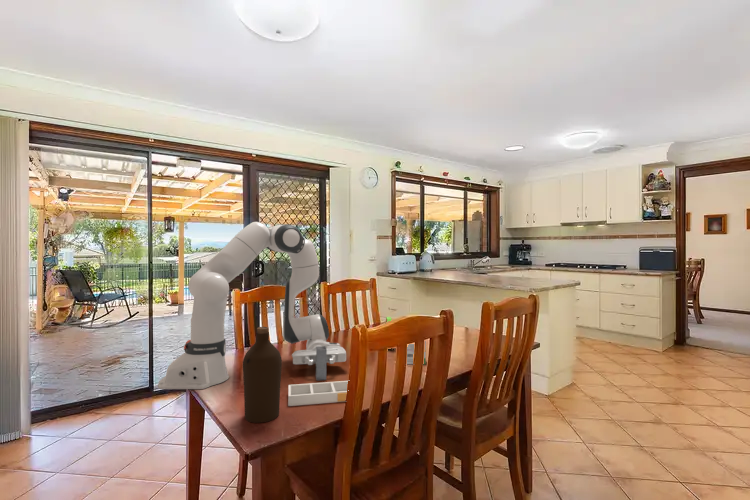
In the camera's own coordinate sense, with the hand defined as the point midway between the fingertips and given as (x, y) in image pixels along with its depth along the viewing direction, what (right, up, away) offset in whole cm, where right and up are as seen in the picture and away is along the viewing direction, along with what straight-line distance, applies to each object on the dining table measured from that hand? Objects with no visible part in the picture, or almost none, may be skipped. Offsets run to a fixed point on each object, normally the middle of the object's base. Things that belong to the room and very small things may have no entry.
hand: (321, 362), depth 137 cm
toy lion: (+26, -6, +44) cm, 51 cm away
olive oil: (-12, -6, -30) cm, 33 cm away
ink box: (+36, -6, +20) cm, 42 cm away
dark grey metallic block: (0, -6, +1) cm, 6 cm away
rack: (+3, -6, -17) cm, 18 cm away
